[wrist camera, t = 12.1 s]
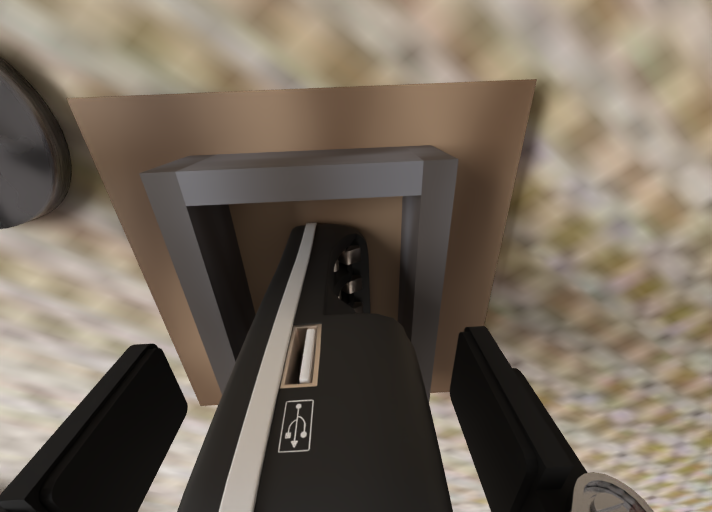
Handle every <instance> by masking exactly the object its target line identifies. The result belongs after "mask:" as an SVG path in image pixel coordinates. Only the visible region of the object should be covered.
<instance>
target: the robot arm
mask: <svg viewBox="0 0 712 512" xmlns="http://www.w3.org/2000/svg"><path fill="white" fill-rule="evenodd" d="M450 397H451V401H452V404H453V406H454V409H455V412H456V415H457V417H458V420H459V423H460V426H461V429H462V431H463V434H464V437H465V440H466V443H467V445H468V448H469V451H470V454H471V456H472V459H473V462H474V465H475V468H476V470H477V473H478V476H479V479H480V482H481V484H482V487H483V490H484V493H485V495H486V498H487V501H488V504H489V507H490V509H491V512H654V511H653V510H652V509H651V508H650V506H649V505H648V504H647V503H646V502H645V500H644V499H643V498H641V497H640V496H639V495H638V494H637V493H636V492H635V491H634V490H632V489H631V488H630V487H628V486H627V485H625V484H624V483H622V482H621V481H619V480H617V479H615V478H613V477H610V476H608V475H606V474H601V473H595V472H591V473H587V471H586V470H585V468H584V467H583V465H582V464H581V462H580V461H579V459H578V457H577V456H576V454H575V453H574V451H573V450H572V448H571V447H570V445H569V444H568V442H567V441H566V439H565V438H564V436H563V435H562V433H561V432H560V430H559V428H558V427H557V425H556V424H555V422H554V421H553V419H552V418H551V416H550V415H549V413H548V412H547V410H546V409H545V407H544V406H543V404H542V403H541V401H540V399H539V398H538V396H537V395H536V393H535V392H534V390H533V389H532V387H531V386H530V384H529V383H528V381H527V380H526V378H525V377H524V375H523V374H522V373H521V372H520V371H519V370H518V369H516V368H512V367H511V366H510V364H509V363H508V361H507V359H506V358H505V356H504V355H503V353H502V351H501V350H500V348H499V347H498V345H497V343H496V342H495V340H494V339H493V337H492V335H491V334H490V332H489V331H488V329H487V328H486V327H485V326H476V327H465V329H464V332H460V333H459V336H458V342H457V348H456V354H455V360H454V366H453V372H452V378H451V384H450ZM187 408H188V406H187V402H186V400H185V397H184V395H183V393H182V391H181V389H180V387H179V385H178V382H177V380H176V378H175V376H174V374H173V372H172V370H171V367H170V365H169V363H168V361H167V359H166V357H165V355H164V352H163V351H162V349H160V348H158V347H157V345H155V344H138V345H132V346H130V347H129V348H128V349H127V350H126V351H125V352H124V353H123V355H122V356H121V357H120V358H119V359H118V360H117V362H116V363H115V364H114V365H113V366H112V367H111V368H110V370H109V371H108V372H107V373H106V374H105V375H104V376H103V378H102V379H101V380H100V381H99V382H98V383H97V384H96V386H95V387H94V388H93V389H92V390H91V391H90V393H89V394H88V395H87V396H86V397H85V398H84V399H83V401H82V402H81V403H80V404H79V405H78V406H77V407H76V409H75V410H74V411H73V412H72V413H71V414H70V415H69V417H68V418H67V419H66V420H65V421H64V422H63V423H62V425H61V426H60V427H59V428H58V429H57V430H56V432H55V433H54V434H53V435H52V436H51V437H50V438H49V440H48V441H47V442H46V443H45V444H44V445H43V446H42V448H41V449H40V450H39V451H38V452H37V453H36V454H35V456H34V457H33V458H32V459H31V460H30V461H29V463H28V464H27V465H26V466H25V467H24V468H23V469H22V471H21V472H20V473H19V474H18V475H17V476H16V477H15V479H14V480H13V481H12V482H11V483H10V484H9V485H8V487H7V488H6V489H5V490H4V491H3V492H2V493H1V495H0V512H138V510H139V508H140V506H141V504H142V502H143V500H144V498H145V496H146V494H147V492H148V490H149V488H150V486H151V484H152V482H153V480H154V478H155V476H156V474H157V472H158V470H159V468H160V466H161V464H162V462H163V460H164V458H165V456H166V454H167V452H168V450H169V448H170V446H171V444H172V442H173V440H174V438H175V436H176V434H177V432H178V430H179V428H180V426H181V424H182V422H183V420H184V418H185V416H186V414H187Z"/></svg>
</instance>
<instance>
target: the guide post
mask: <svg viewBox="0 0 712 512" xmlns="http://www.w3.org/2000/svg"><path fill="white" fill-rule="evenodd" d="M70 180H71V161H70V154H69V151H68V147H67V143H66V141H65V138H64V136H63V133H62V131H61V129H60V127H59V125H58V123H57V121H56V119H55V117H54V116H53V114H52V113H51V111H50V109H49V108H48V106H47V105H46V103H45V102H44V101H43V99H42V98H41V97H40V96H39V94H38V93H37V92H36V91H35V89H34V88H33V87H32V86H31V85H30V84H29V83H28V82H27V81H26V80H25V79H24V78H23V77H22V76H21V75H20V74H19V73H18V72H17V71H16V70H15V69H14V68H13V67H12V66H11V65H9V64H8V63H7V62H6V61H4V60H3V59H2V58H1V57H0V229H3V228H9V227H13V226H17V225H20V224H22V223H25V222H28V221H30V220H33V219H35V218H38V217H41V216H43V215H45V214H47V213H49V212H51V211H52V210H53V209H55V208H56V207H57V206H58V205H59V204H60V203H61V202H62V200H63V199H64V197H65V196H66V194H67V191H68V188H69V185H70Z"/></svg>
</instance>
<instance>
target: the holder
mask: <svg viewBox="0 0 712 512" xmlns="http://www.w3.org/2000/svg"><path fill="white" fill-rule="evenodd" d="M536 81H537V79H531V80H506V81H482V82H457V83H432V84H408V85H383V86H358V87H334V88H309V89H284V90H259V91H235V92H210V93H185V94H161V95H136V96H111V97H87V98H66V99H67V101H68V104H69V106H70V108H71V110H72V113H73V115H74V117H75V120H76V122H77V124H78V126H79V129H80V131H81V133H82V136H83V138H84V140H85V142H86V145H87V147H88V149H89V152H90V154H91V156H92V158H93V161H94V163H95V165H96V168H97V170H98V172H99V175H100V177H101V179H102V181H103V184H104V186H105V188H106V191H107V193H108V195H109V197H110V200H111V202H112V204H113V207H114V209H115V211H116V213H117V216H118V218H119V220H120V223H121V225H122V227H123V229H124V232H125V234H126V236H127V239H128V241H129V243H130V245H131V248H132V250H133V252H134V255H135V257H136V259H137V262H138V264H139V266H140V268H141V271H142V273H143V275H144V278H145V280H146V282H147V284H148V287H149V289H150V291H151V294H152V296H153V298H154V300H155V303H156V305H157V307H158V310H159V312H160V314H161V316H162V319H163V321H164V323H165V326H166V328H167V330H168V332H169V335H170V337H171V339H172V342H173V344H174V346H175V349H176V351H177V353H178V355H179V358H180V360H181V362H182V365H183V367H184V369H185V371H186V374H187V376H188V378H189V381H190V383H191V385H192V387H193V390H194V392H195V394H196V397H197V399H198V401H199V403H200V406H207V405H219V402H220V400H221V397H222V395H223V392H224V390H225V387H226V385H227V382H228V380H229V377H230V375H231V372H232V370H233V367H234V365H235V362H236V360H237V358H238V355H239V353H240V351H241V348H242V346H243V343H244V341H245V339H246V336H247V334H248V332H249V329H250V327H251V325H252V322H253V320H254V318H255V316H256V313H257V311H258V309H259V307H260V304H261V302H262V300H263V298H264V295H265V293H266V291H267V289H268V287H269V284H270V282H271V280H272V278H273V276H274V274H275V272H276V269H277V267H278V265H279V262H280V260H281V257H282V254H283V252H284V249H285V247H286V244H287V241H288V239H289V236H290V233H291V231H292V229H293V228H295V227H296V226H302V225H306V224H307V223H317V225H320V224H337V225H345V226H348V227H351V228H354V229H356V230H358V231H359V232H360V233H361V234H362V235H363V236H364V238H365V240H366V242H367V248H368V255H369V283H370V313H375V314H380V315H384V316H388V317H391V318H394V319H395V320H396V321H397V322H398V323H400V324H401V325H402V326H403V328H404V330H405V333H406V335H407V337H408V339H409V340H410V342H411V343H412V345H413V346H414V348H415V352H416V355H417V359H418V363H419V366H420V370H421V374H422V378H423V382H424V386H425V390H426V394H427V398H428V402H429V399H430V393H436V392H450V384H451V378H452V372H453V366H454V360H455V354H456V348H457V342H458V336H459V333H460V332H464V329H465V327H476V326H484V323H485V318H486V314H487V309H488V304H489V300H490V295H491V290H492V286H493V281H494V276H495V272H496V267H497V262H498V258H499V253H500V248H501V244H502V239H503V234H504V230H505V225H506V220H507V216H508V211H509V206H510V202H511V197H512V192H513V188H514V183H515V179H516V174H517V169H518V165H519V160H520V155H521V151H522V146H523V141H524V137H525V132H526V127H527V123H528V118H529V113H530V109H531V104H532V99H533V95H534V90H535V85H536Z"/></svg>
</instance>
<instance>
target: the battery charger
mask: <svg viewBox="0 0 712 512" xmlns="http://www.w3.org/2000/svg"><path fill="white" fill-rule="evenodd" d="M177 512H453V510H452V505H451V500H450V495H449V491H448V486H447V482H446V477H445V472H444V468H443V463H442V459H441V454H440V449H439V445H438V441H437V436H436V432H435V428H434V423H433V419H432V415H431V410H430V406H429V402H428V398H427V394H426V390H425V386H424V382H423V378H422V374H421V370H420V366H419V363H418V359H417V355H416V352H415V348H414V346H413V345H412V343H411V342H410V340H409V339H408V337H407V335H406V333H405V330H404V328H403V326H402V325H401V324H400V323H398V322H397V321H396V320H395V319H394V318H391V317H388V316H384V315H380V314H375V313H370V283H369V255H368V248H367V242H366V240H365V238H364V236H363V235H362V234H361V233H360V232H359V231H358V230H356V229H354V228H351V227H348V226H345V225H337V224H320V225H317V223H307V224H306V225H302V226H296V227H295V228H293V229H292V231H291V233H290V236H289V239H288V241H287V244H286V247H285V249H284V252H283V254H282V257H281V260H280V262H279V265H278V267H277V269H276V272H275V274H274V276H273V278H272V280H271V282H270V284H269V287H268V289H267V291H266V293H265V295H264V298H263V300H262V302H261V304H260V307H259V309H258V311H257V313H256V316H255V318H254V320H253V322H252V325H251V327H250V329H249V332H248V334H247V336H246V339H245V341H244V343H243V346H242V348H241V351H240V353H239V355H238V358H237V360H236V362H235V365H234V367H233V370H232V372H231V375H230V377H229V380H228V382H227V385H226V387H225V390H224V392H223V395H222V397H221V400H220V402H219V405H218V407H217V410H216V412H215V415H214V417H213V420H212V422H211V425H210V427H209V430H208V432H207V435H206V437H205V440H204V443H203V445H202V448H201V450H200V453H199V455H198V458H197V461H196V463H195V466H194V468H193V471H192V473H191V476H190V479H189V481H188V484H187V486H186V489H185V491H184V494H183V497H182V500H181V503H180V505H179V508H178V511H177Z"/></svg>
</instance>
